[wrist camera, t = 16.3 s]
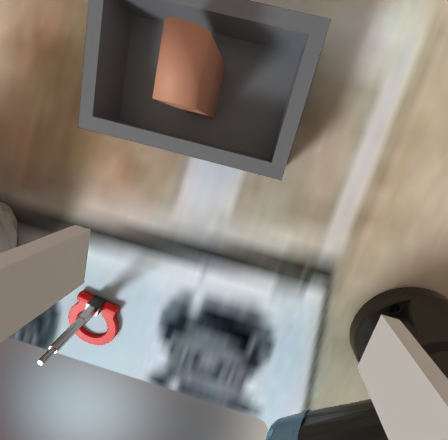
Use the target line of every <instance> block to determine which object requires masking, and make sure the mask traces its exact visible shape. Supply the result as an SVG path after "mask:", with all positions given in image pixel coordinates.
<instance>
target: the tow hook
mask: <svg viewBox="0 0 448 440" xmlns="http://www.w3.org/2000/svg"><path fill="white" fill-rule="evenodd" d="M77 299H79V302H78V303H76V304H75V305H74V306H73V307H72V308H71V310H70V312H69V316H68V318H69V324H70V327H69V328H68V329H67V330H66V331H65V332H64V333H63V334H62V335H61V336H60V337H59V338H58V339H57V340H56V341H55V342H54V343H53V344H52V345H51V346H50V347H49V350H48V351H47V352H46V353H45V354H44V355H43V356H42V357H41V358H40V359H39V360H38V364H39V365H43V364H44V363H45V362H46V361H47V360H48V359H49V358H50V357H51V356H52V355H53V354H54V353H57V352H58V351H59V350H60V349H61V348H62V347H63V345H64V344H65V343H66V342H67V341H68V340H69V339H70V338H71V337H72V336H73V335H74V334H76V335H77V336H78V337H79V338H81V339H82V340H84V341H85V342H88V343H90V344H95V345H103V344H106V343H109V342H110V341H111V340H112V339H113V338H114V337H115V335H116V334H117V331H118V322H117V319H116V317H115V316H116V314H117V312H118V310H119V307H118V306H116V305H114V304H111V303H109V302H107V301H106V300H104V299H102V298H99V297H97V296H93V295H91V294H89V293H86V292H84V291H81V292H80V293H79V294H78V296H77ZM102 310H103V312H102V316H103V317H104V319H105V320H106V322H107V326H108V329H107V332H106V333H105V334H102V335H94V334H91V333H89V332H88V331H86V330H85V329H84V328H83V327H82V325H84V324H86V323H87V322H88V321H89V320H90V319H91V318H92V317H93V315H94V316H98V314H99V313H100V312H101V311H102ZM81 311H83V312H82V313H81V314H80V312H81Z"/></svg>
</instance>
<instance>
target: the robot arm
mask: <svg viewBox="0 0 448 440" xmlns="http://www.w3.org/2000/svg"><path fill="white" fill-rule="evenodd" d="M89 238H90V229H87V228H84V227H80V226H77V225H74V226H71V227H68V228H66V229H63V230H60V231H58V232H55V233H52V234H50V235H47V236H45V237H42V238H39V239H37V240H34V241H31V242H29V243H26V244H23V245H21V246H18V247H16V248H13V249H10V250H8V251H5V252H2V253H0V343H1V342H2V341H4V340H5V339H6V338H8V337H9V336H11V335H12V334H13V333H15V332H16V331H18V330H19V329H20V328H22V327H23V326H24V325H26V324H27V323H29V322H30V321H31V320H33V319H34V318H36V317H37V316H38V315H40V314H41V313H43V312H44V311H45V310H47V309H48V308H50V307H51V306H52V305H54V304H55V303H57V302H58V301H59V300H61V299H62V298H63V297H65V296H66V295H68V294H69V293H70V292H72V291H73V290H75V289H76V288H77V287H79V286H80V285H82V284H83V283H84V278H85V270H86V262H87V254H88V246H89ZM350 343H351V347H352V350H353V352H354V354H355V356H356V359H357V361H358V363H359V364H358V367H357V368H358V370H359V372H360V375H361V377H362V379H363V382H364V384H365V386H366V389H367V391H368V393H369V396H370V398H371V399H369V400H364V401H359V402H355V403H350V404H344V405H339V406H334V407H329V408H323V409H318V410H313V411H311V410H310V409H305V410H304V411H302V413H298V414H295V415H291V416H287V417H284V418H280V419H278V420H277V421H275V422H274V423H273V425H272V426H271V427H270V429H269V431H268V434H267V437H266V440H448V299H447V298H446V297H444V296H442V295H441V294H439V293H436V292H434V291H431V290H427V289H422V288H400V289H394V290H391V291H387V292H385V293H382V294H380V295H378V296H376V297H374V298H373V299H371V300H370V301H368V302H367V303H366V304H365V305H364V306H363V307H362V308H361V309H360V310H359V311H358V313H357V314H356V316H355V317H354V319H353V322H352V324H351V328H350Z"/></svg>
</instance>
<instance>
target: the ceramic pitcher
mask: <svg viewBox="0 0 448 440" xmlns="http://www.w3.org/2000/svg"><path fill="white" fill-rule="evenodd" d="M17 224H18V222H17V220H16V217H15V215H14V213H13V211H12V209H11V207H9V206H8V205H7V204H5V203H3V202H0V253H2V252H5V251H8V250H10V249H13V248H16V247H17V232H18V228H17Z"/></svg>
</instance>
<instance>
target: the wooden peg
mask: <svg viewBox="0 0 448 440" xmlns="http://www.w3.org/2000/svg"><path fill="white" fill-rule="evenodd" d="M225 67H226V65H225V63H224V60H223V58H222V56H221V54H220V52H219V49H218V47H217V45H216V43H215V41H214V38H213V36H212V34H211V33H210V31H208V30H207V29H206V28H204V27H203V26H201V25H199V24H197V23H194V22H192V21H189V20H185V19H182V18H176V17H168V18H165V19H164V25H163V32H162V38H161V45H160V51H159V58H158V64H157V71H156V77H155V84H154V91H153V97H152V98H153V99H155V100H158V101H160V102H163V103H165V104H168V105H170V106H173V107H175V108H178V109H180V110H183V111H187V112H191V113H195V114H199V115H203V116H207V117H210V118H215V113H216V109H217V104H218V99H219V95H220V90H221V86H222V81H223V77H224V72H225Z"/></svg>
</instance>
